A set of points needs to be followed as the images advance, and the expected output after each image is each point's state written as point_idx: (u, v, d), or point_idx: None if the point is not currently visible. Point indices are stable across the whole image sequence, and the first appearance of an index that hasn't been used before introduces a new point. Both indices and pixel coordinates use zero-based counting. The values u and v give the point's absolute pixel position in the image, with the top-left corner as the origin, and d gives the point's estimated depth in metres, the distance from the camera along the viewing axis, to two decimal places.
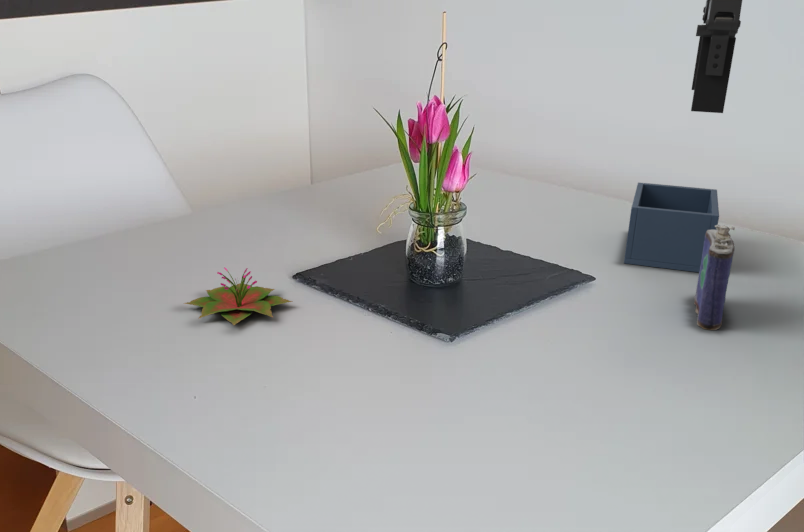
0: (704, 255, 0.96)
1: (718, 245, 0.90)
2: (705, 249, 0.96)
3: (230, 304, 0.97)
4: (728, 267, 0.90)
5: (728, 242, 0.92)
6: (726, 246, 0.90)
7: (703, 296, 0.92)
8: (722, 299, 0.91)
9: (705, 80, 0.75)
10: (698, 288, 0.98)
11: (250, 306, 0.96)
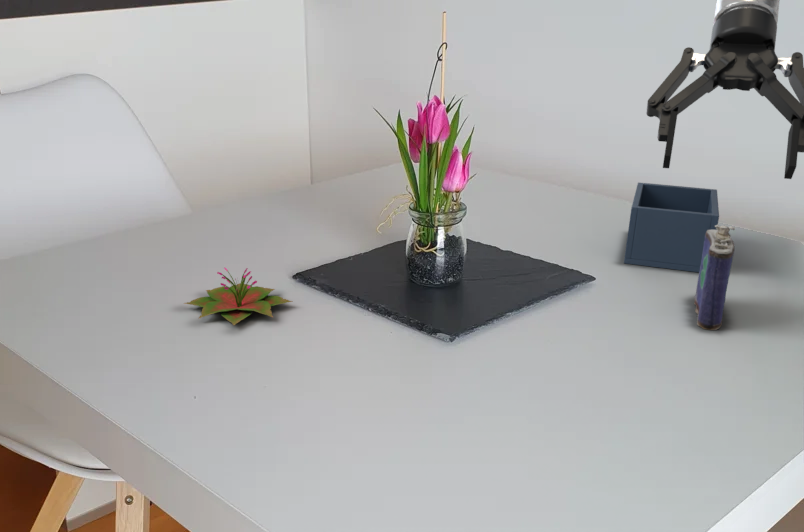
0: (704, 255, 0.96)
1: (718, 245, 0.90)
2: (705, 249, 0.96)
3: (230, 304, 0.97)
4: (728, 267, 0.90)
5: (728, 242, 0.92)
6: (726, 246, 0.90)
7: (703, 296, 0.92)
8: (722, 299, 0.91)
9: None
10: (698, 288, 0.98)
11: (250, 306, 0.96)
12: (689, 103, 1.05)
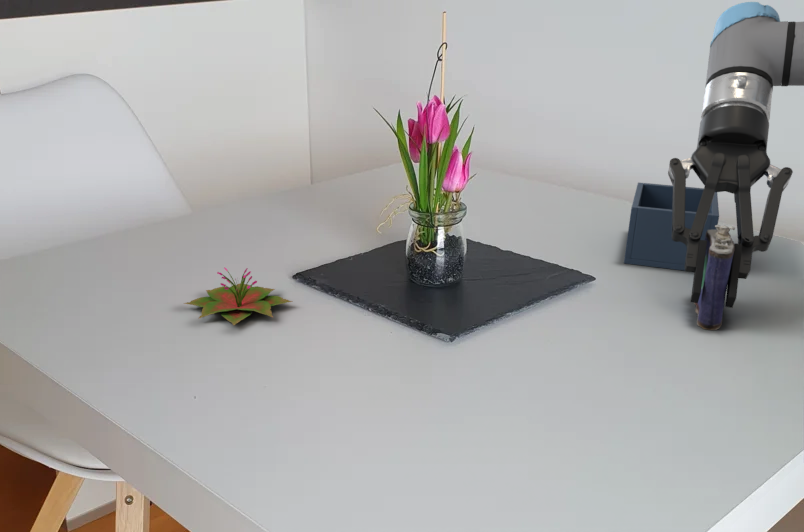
0: None
1: (718, 245, 0.90)
2: None
3: (230, 304, 0.97)
4: (728, 267, 0.90)
5: (728, 242, 0.92)
6: (726, 246, 0.90)
7: (703, 296, 0.92)
8: (722, 299, 0.91)
9: None
10: None
11: (250, 306, 0.96)
12: (706, 219, 0.96)
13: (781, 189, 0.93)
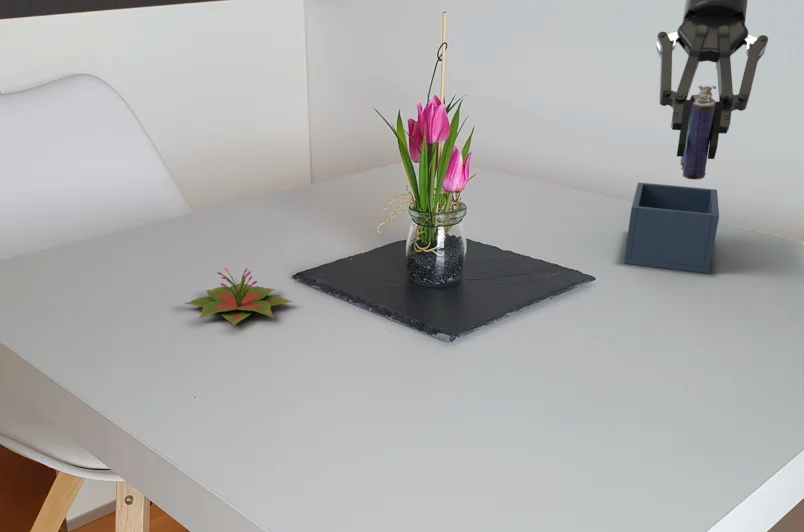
0: (689, 117, 1.06)
1: (701, 100, 1.00)
2: (690, 111, 1.06)
3: (230, 304, 0.97)
4: (710, 119, 1.00)
5: (710, 100, 1.02)
6: (708, 101, 1.00)
7: (688, 148, 1.02)
8: (705, 150, 1.01)
9: None
10: (684, 149, 1.08)
11: (250, 306, 0.96)
12: (690, 84, 1.06)
13: (758, 54, 1.03)
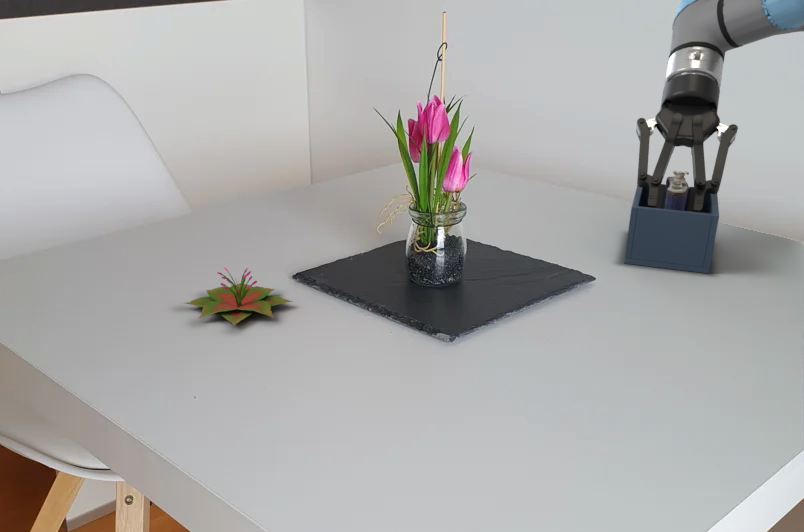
0: (665, 197, 1.16)
1: (674, 186, 1.10)
2: (666, 192, 1.15)
3: (230, 304, 0.97)
4: (682, 204, 1.09)
5: (683, 185, 1.12)
6: (681, 187, 1.09)
7: None
8: None
9: None
10: None
11: (250, 306, 0.96)
12: (666, 168, 1.16)
13: (728, 142, 1.13)
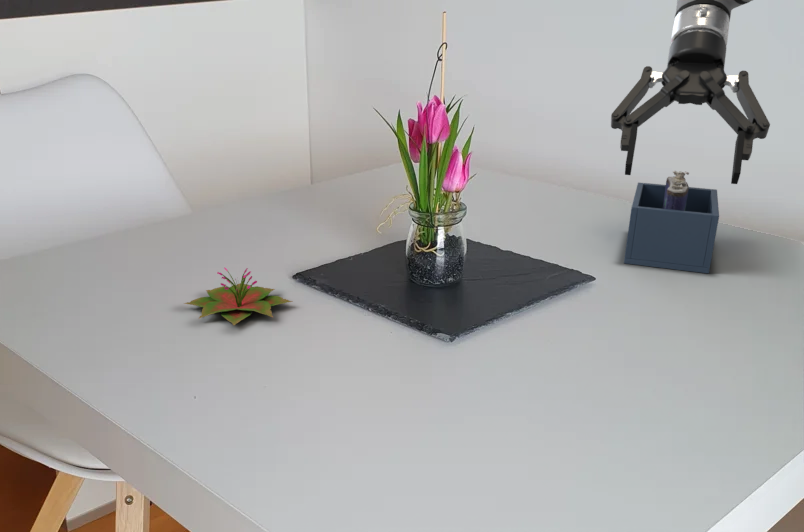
0: (665, 197, 1.16)
1: (674, 186, 1.10)
2: (666, 192, 1.15)
3: (230, 304, 0.97)
4: (682, 204, 1.09)
5: (683, 185, 1.12)
6: (681, 187, 1.09)
7: None
8: None
9: None
10: None
11: (250, 306, 0.96)
12: (648, 116, 1.17)
13: (749, 87, 1.13)
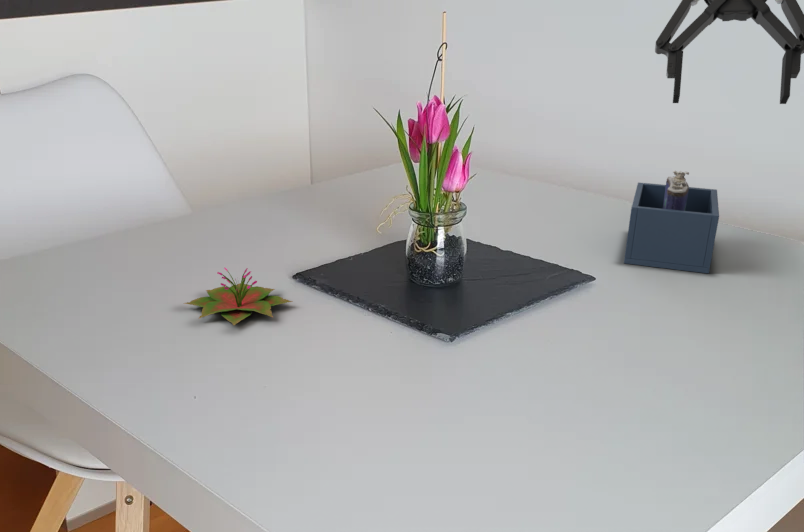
0: (665, 197, 1.16)
1: (674, 186, 1.10)
2: (666, 192, 1.15)
3: (230, 304, 0.97)
4: (682, 204, 1.09)
5: (684, 185, 1.12)
6: (681, 187, 1.09)
7: None
8: None
9: None
10: None
11: (250, 306, 0.96)
12: (693, 38, 1.17)
13: (795, 0, 1.12)
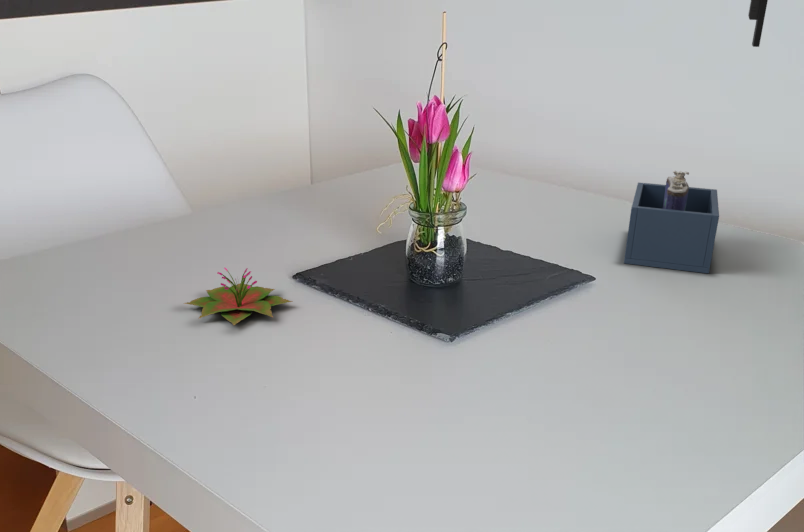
0: (665, 197, 1.16)
1: (674, 186, 1.10)
2: (666, 192, 1.15)
3: (230, 304, 0.97)
4: (682, 204, 1.09)
5: (684, 185, 1.12)
6: (681, 187, 1.09)
7: None
8: None
9: None
10: None
11: (250, 306, 0.96)
12: None
13: None
